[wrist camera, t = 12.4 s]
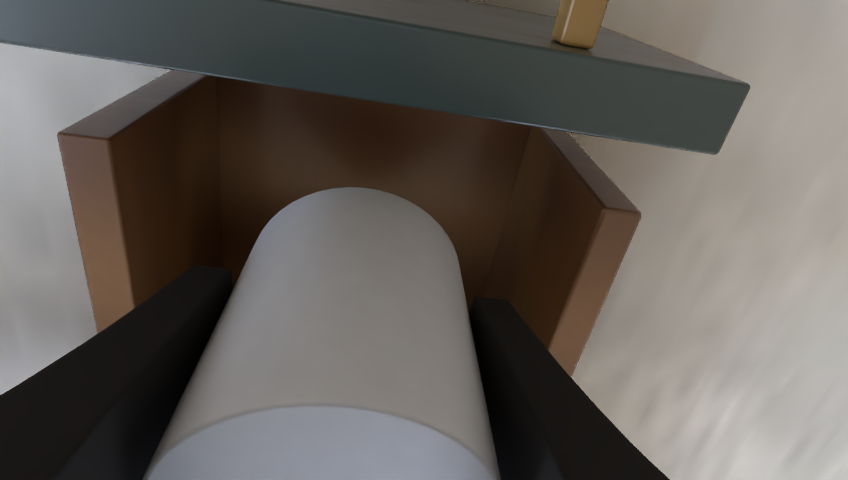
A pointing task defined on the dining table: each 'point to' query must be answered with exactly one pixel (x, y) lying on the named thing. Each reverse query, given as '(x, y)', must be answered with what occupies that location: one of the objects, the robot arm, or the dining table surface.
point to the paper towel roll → (338, 356)
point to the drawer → (369, 136)
